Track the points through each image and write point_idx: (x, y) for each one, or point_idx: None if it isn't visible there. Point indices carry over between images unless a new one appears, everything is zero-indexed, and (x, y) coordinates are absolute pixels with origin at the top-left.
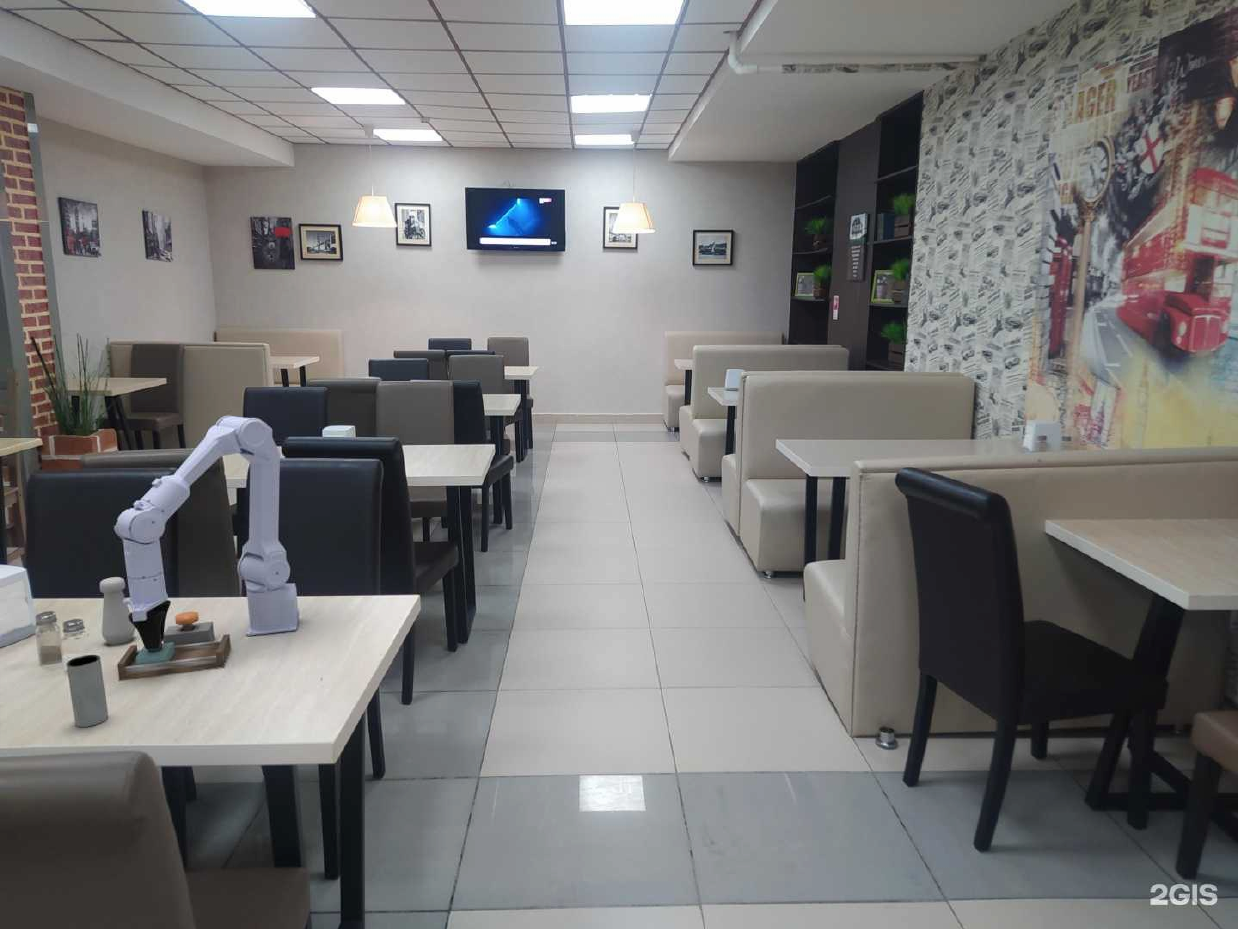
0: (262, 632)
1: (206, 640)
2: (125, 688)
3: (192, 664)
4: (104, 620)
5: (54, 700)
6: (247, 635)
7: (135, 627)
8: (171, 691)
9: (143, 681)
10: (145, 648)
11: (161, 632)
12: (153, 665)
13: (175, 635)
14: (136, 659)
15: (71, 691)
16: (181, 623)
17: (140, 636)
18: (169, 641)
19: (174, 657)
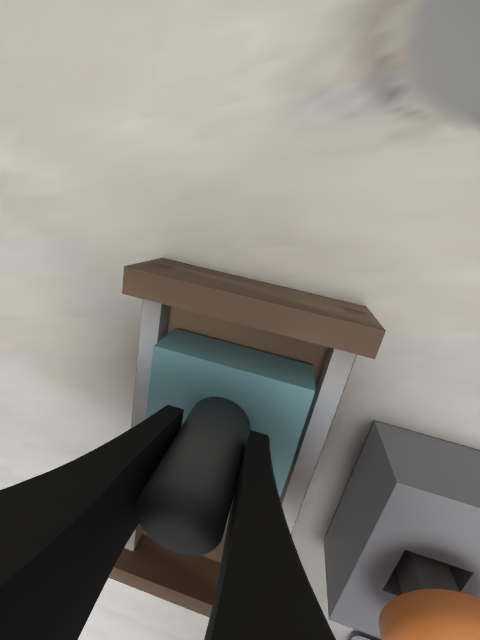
0: None
1: (328, 563)
2: (83, 279)
3: None
4: None
5: (58, 3)
6: (354, 637)
7: (16, 484)
8: (21, 395)
9: (120, 334)
10: (265, 392)
11: (228, 523)
12: (135, 388)
13: (372, 521)
14: (157, 345)
15: None
16: (393, 611)
17: (108, 442)
18: (377, 476)
19: None
